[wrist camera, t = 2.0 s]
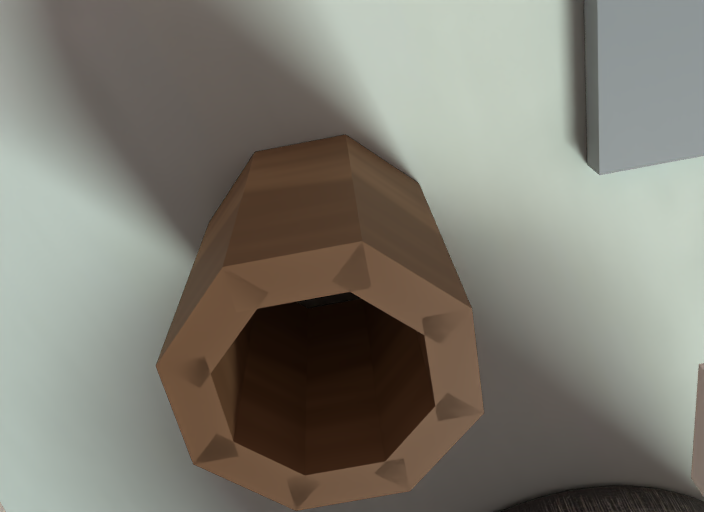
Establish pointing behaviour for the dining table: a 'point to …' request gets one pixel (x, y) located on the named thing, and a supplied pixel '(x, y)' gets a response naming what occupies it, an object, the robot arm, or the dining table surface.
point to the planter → (612, 501)
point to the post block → (643, 82)
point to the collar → (322, 332)
